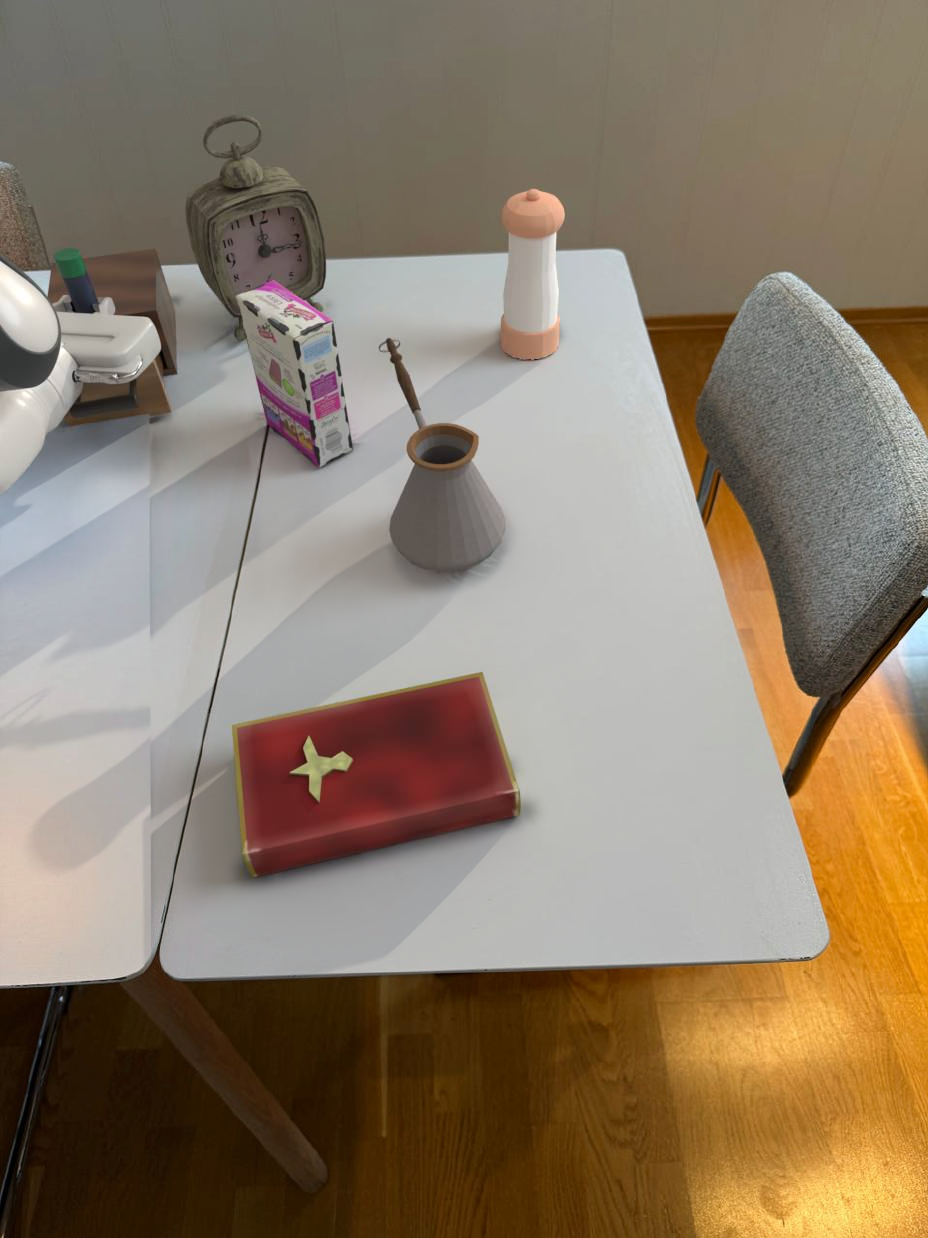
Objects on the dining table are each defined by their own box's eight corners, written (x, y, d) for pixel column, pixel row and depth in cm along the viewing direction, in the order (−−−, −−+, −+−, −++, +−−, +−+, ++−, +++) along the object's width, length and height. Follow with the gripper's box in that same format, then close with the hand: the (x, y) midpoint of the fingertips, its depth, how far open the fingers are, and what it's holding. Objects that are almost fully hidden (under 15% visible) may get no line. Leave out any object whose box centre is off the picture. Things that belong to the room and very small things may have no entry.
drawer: (172, 439, 101) (154, 388, 96) (67, 457, 100) (42, 406, 95) (169, 348, 113) (153, 297, 108) (75, 362, 112) (54, 312, 106)
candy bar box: (356, 450, 101) (336, 319, 88) (320, 470, 99) (293, 339, 86) (300, 405, 106) (273, 276, 94) (264, 423, 104) (232, 294, 92)
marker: (102, 384, 104) (52, 262, 92) (103, 371, 106) (54, 249, 94) (126, 380, 104) (79, 258, 93) (126, 367, 106) (80, 245, 94)
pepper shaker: (489, 350, 112) (487, 196, 97) (518, 321, 116) (521, 169, 101) (541, 367, 109) (547, 212, 95) (569, 337, 113) (578, 183, 99)
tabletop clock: (233, 351, 114) (177, 145, 95) (208, 318, 119) (151, 116, 100) (336, 316, 118) (303, 113, 99) (308, 286, 123) (272, 87, 104)
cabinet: (177, 374, 111) (156, 309, 104) (71, 390, 110) (43, 326, 103) (175, 310, 120) (155, 247, 114) (77, 325, 119) (51, 262, 112)
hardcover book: (520, 819, 71) (521, 793, 68) (254, 881, 68) (242, 858, 65) (483, 698, 78) (482, 669, 75) (242, 750, 76) (230, 722, 73)
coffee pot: (523, 567, 88) (526, 447, 77) (413, 601, 86) (399, 482, 74) (448, 439, 101) (441, 320, 90) (351, 465, 99) (330, 347, 87)
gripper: (119, 355, 86) (171, 279, 95) (-75, 343, 89) (-7, 270, 97) (140, 409, 91) (187, 332, 100) (-45, 396, 94) (17, 322, 102)
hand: (90, 301), depth 99 cm, fingers closed on marker, 2 cm apart
